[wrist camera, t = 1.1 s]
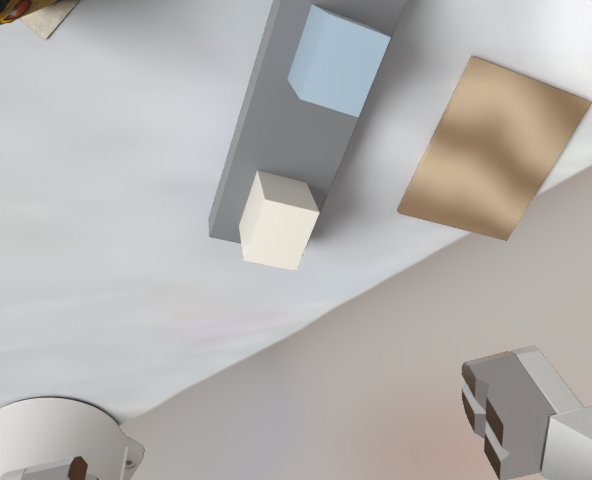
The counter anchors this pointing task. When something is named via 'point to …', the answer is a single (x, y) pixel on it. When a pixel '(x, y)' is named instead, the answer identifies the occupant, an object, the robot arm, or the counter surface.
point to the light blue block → (336, 61)
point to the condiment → (36, 13)
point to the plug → (277, 221)
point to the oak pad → (491, 150)
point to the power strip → (288, 114)
